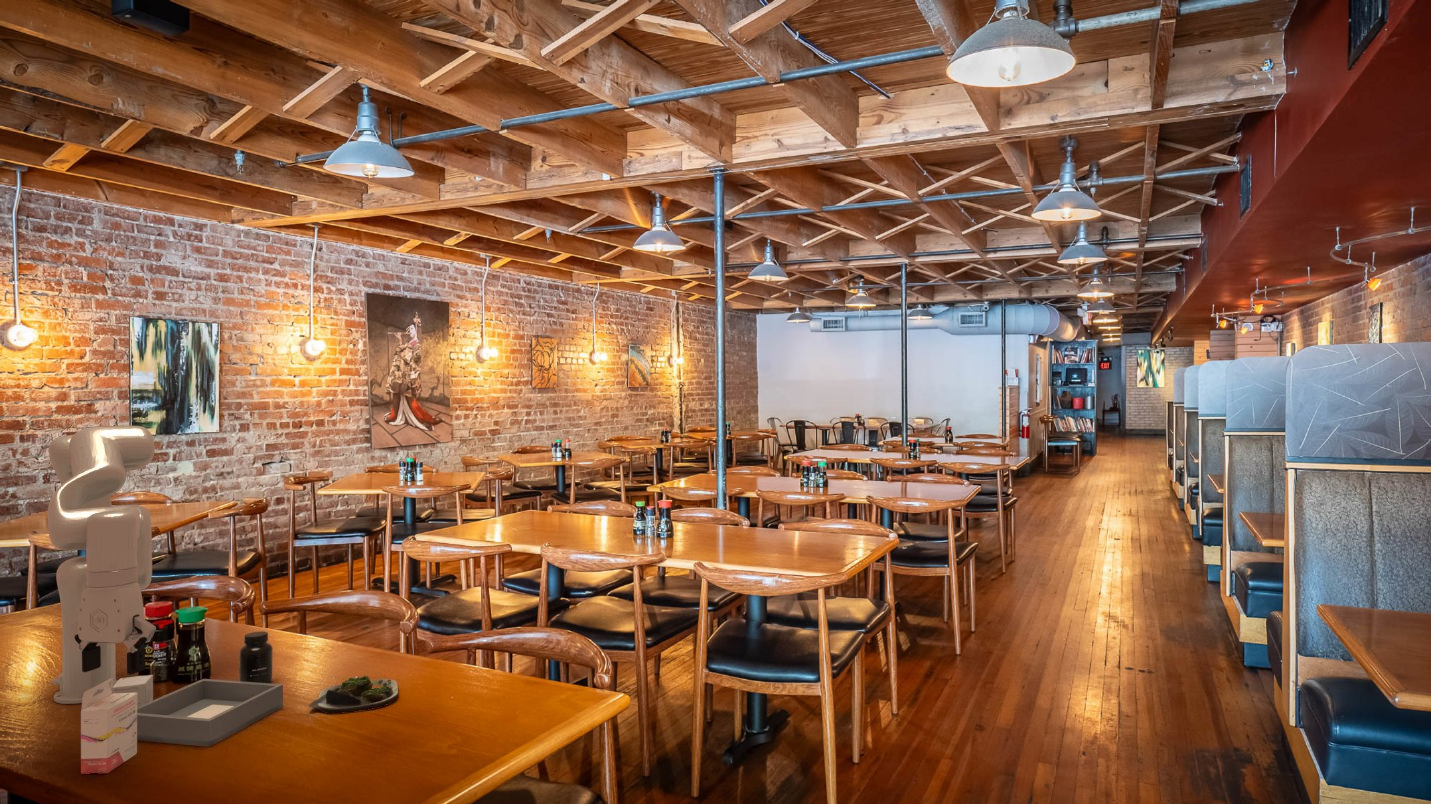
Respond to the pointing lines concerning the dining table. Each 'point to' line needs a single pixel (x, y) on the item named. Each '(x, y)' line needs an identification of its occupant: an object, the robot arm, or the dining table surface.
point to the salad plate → (356, 695)
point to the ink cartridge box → (107, 729)
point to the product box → (136, 688)
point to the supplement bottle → (256, 659)
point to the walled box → (206, 711)
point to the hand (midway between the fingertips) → (113, 671)
